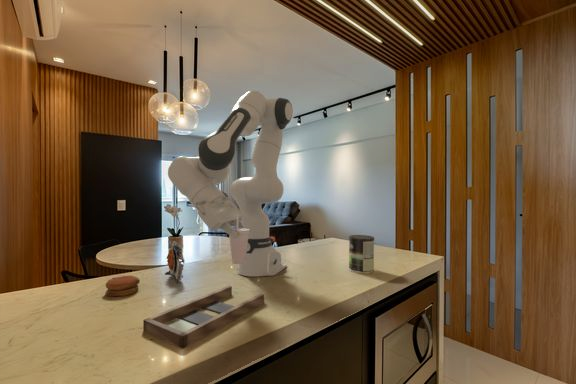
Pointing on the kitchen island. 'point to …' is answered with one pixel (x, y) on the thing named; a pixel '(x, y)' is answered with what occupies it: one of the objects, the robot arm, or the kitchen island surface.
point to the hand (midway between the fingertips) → (241, 234)
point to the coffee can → (361, 253)
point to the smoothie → (239, 245)
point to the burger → (122, 286)
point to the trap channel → (197, 318)
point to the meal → (175, 261)
